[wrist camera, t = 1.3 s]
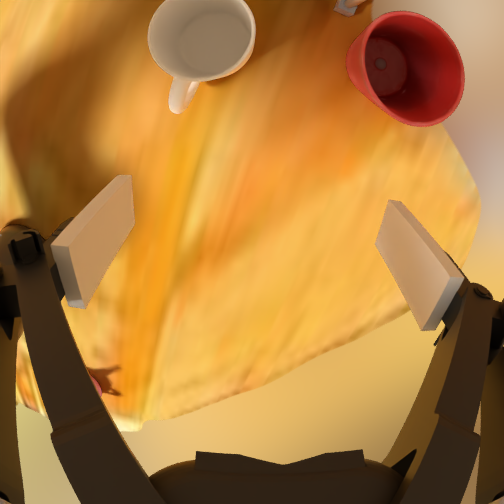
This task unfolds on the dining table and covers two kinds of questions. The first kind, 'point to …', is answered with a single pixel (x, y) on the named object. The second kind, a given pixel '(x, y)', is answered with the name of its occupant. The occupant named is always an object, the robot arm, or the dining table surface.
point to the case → (347, 6)
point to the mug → (200, 43)
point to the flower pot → (407, 68)
